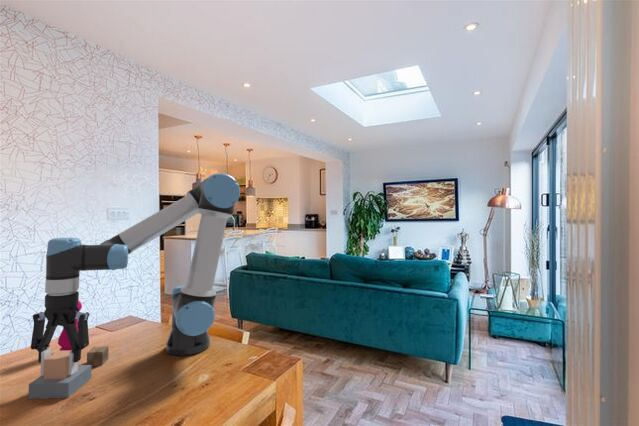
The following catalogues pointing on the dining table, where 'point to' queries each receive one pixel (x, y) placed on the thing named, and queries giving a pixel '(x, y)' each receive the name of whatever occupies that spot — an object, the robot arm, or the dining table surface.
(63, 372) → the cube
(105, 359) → the walnut block
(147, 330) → the dining table surface
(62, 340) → the pepper mill
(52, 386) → the pedestal
